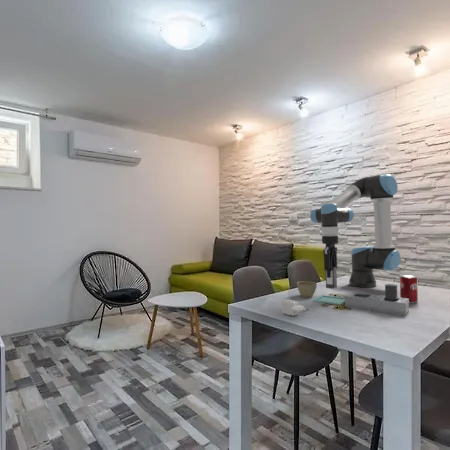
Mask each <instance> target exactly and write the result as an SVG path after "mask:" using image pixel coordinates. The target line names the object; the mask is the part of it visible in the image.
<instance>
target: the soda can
mask: <svg viewBox="0 0 450 450" xmlns="http://www.w3.org/2000/svg"><path fill="white" fill-rule="evenodd" d="M418 279H419V278H418V277H417V276H415V275H411V274H409V275H408V274H406V275H400V277H399V294H400V296H399V298H408V299H409V304H417V303H418V300H419V293H418V291H419V290H418V288H419V287H418V286H419V285H418V282H419V281H418Z"/></svg>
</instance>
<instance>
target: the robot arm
mask: <svg viewBox="0 0 450 450" xmlns="http://www.w3.org/2000/svg"><path fill="white" fill-rule="evenodd" d="M398 187H399V186H398V182H397V180H396V178H395V176H393V175H392V174H389V173H388V174H378V175H372V176H365V177H361V178H360V179H358V180H356V181H354V182H352V183H351V184H349V185H348V186H347V187H346V188H345V190H344V191H342V192H341V193H340V194H338V195H337V196H336V197H334V198H333V199H331V200H330V201H329V202H327V203H323V204H322V205H321V206H320V208H316V209H313V210H311V211H310V213H309V217H310V221H311V222H312V223H315V224H321V228H320V231H321V235H322V236H321V243H322V244H324V245H325V247H324V249H323V250H322V251H323V260H324V261H323V265H324V266H323V267H324V269H323V271H324V272H325V277H326V276H327V284H333V274H332V271H331V270H332V267H336V270H338V255H337V254H338V247H337V246H336V244H339V236H338V235H339V225H338V224H339V223H340V224H341V223H345V224H346V223H350V222H352V220H353V219H354V217H355V214H354V210H353V209H351V208H350V207H347V206H349V205H350V204H351V203H353V202H354V201H358V200H359V199H361V198H367V197H369V198H370V201H371V202H372V203H373V221H374V243H375V244H374V245H373V246H363V247H354V248H352V250H351V274H350V277H349V279H348V280H349V281H348V285H349V286H352V287H355V288H356V287H358V288H375V287H377V281H376V278H375V275H374V270H377V271H384V272H394V271H395V270H397V269H398V267H399V265H400V262H401V253H400V251H398V250H397V249H396V246H395V245H394V244H393V235H392V234H393V230H392V211H391V209H392V207H391V201H392V200H393V199H394V195H396V194H397V192H398Z"/></svg>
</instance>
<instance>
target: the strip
mask: <svg viewBox="0 0 450 450" xmlns="http://www.w3.org/2000/svg"><path fill="white" fill-rule="evenodd" d="M344 298H345V302H344V307H345V308H347V307H348V308H352V309H353V308H354V309H361V310H367V311H371V312H375V313H382V314H391V315H397V316H398V315H399V316H403V317H404V316H405V317H406V316H407V315H408V312H409V311H410V303H409V299H408V298H400V296H399V297H398V285H397V284H393V283H390V284H389V283H386V284H385V285H384V295H379V294H372V293H371V294H370V293H364V292H363V293H362V292H355V291H354V292H353V291H350V292H348V293H347V294H346V295H344Z"/></svg>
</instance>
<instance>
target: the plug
mask: <svg viewBox="0 0 450 450" xmlns="http://www.w3.org/2000/svg"><path fill="white" fill-rule="evenodd" d="M331 271H332V274H333V284H327V276H326V275H325V288H326V289H332V290H334V289H337V287H338V285H337V284H338V283H337V279H338V276H337V274H338V273H337V269H336V267H332V270H331Z"/></svg>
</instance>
